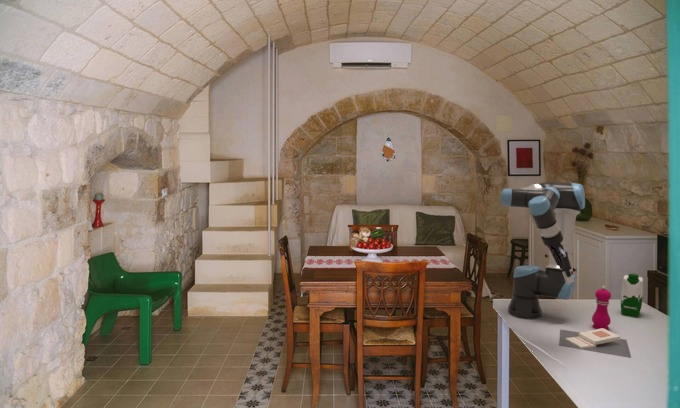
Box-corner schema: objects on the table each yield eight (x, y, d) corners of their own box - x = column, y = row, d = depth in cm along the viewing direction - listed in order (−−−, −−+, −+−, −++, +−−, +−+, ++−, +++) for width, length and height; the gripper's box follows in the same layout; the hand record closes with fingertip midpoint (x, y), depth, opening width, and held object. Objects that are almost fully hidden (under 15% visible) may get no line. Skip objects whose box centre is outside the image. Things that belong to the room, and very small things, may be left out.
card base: (581, 349, 190) (581, 346, 190) (565, 339, 199) (565, 337, 199) (595, 347, 192) (596, 345, 192) (579, 338, 201) (579, 336, 201)
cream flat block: (595, 341, 192) (620, 336, 194) (578, 332, 200) (602, 327, 203) (595, 344, 192) (620, 339, 195) (578, 336, 201) (602, 331, 203)
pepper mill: (612, 333, 208) (615, 288, 206) (594, 332, 210) (597, 287, 207) (606, 327, 215) (609, 284, 213) (589, 326, 217) (592, 283, 214)
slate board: (560, 331, 211) (560, 329, 210) (626, 341, 200) (626, 339, 200) (558, 348, 194) (559, 345, 193) (631, 360, 183) (631, 357, 183)
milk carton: (619, 315, 231) (622, 274, 229) (620, 309, 239) (623, 270, 236) (640, 318, 227) (644, 277, 224) (641, 313, 234) (644, 273, 232)
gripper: (534, 232, 198) (554, 279, 203) (549, 242, 185) (569, 292, 191) (551, 224, 197) (570, 271, 203) (567, 234, 184) (587, 284, 190)
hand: (570, 281), depth 197 cm, fingers closed
